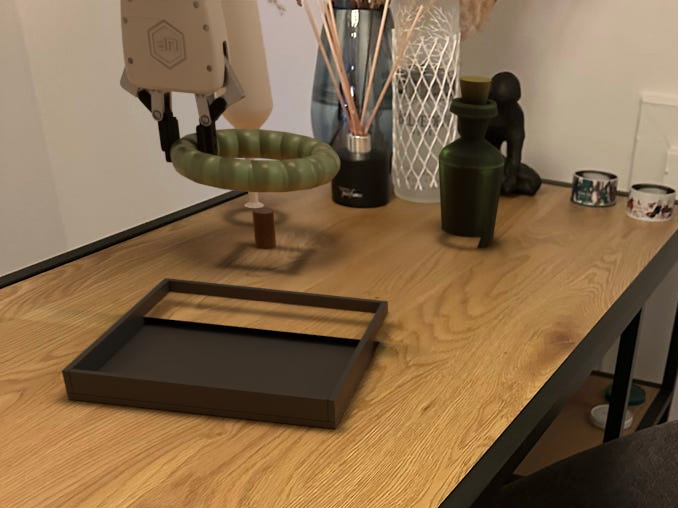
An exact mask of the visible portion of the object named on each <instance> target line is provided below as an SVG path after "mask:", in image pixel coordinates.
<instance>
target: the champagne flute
mask: <svg viewBox="0 0 678 508" xmlns="http://www.w3.org/2000/svg"><path fill="white" fill-rule="evenodd" d="M220 1H221V5H222V10H223V14H224V20H225V25H226V31H227V37H228V43H229V51H230V59H231V67H232V69H233V71H234V72H235V74H236V76H237V78H238V80H239V82H240V84H241V86H242V88H243V89H244V91H245V97H244V98H243V99H241V100H239V101H238V102H236V103H234V104H232V105H231V106H229V107H228V108H227V109H226V110H225V111H224V112H223V113H222V115H221V116H223V118H224V120H226V121H227V122H228V123H229V124H230V125H231V127H233V129H261V128H262V126H264V125H265V123H266V122H267V121H268V119H269V117H270V115H271V114H272V112H273V108H274V101H273V94H272V88H271V83H270V75H269V68H268V63H267V56H266V55H267V54H266V48H265V43H264V36H263V29H262V23H261V15H260V10H259V4H258V0H220ZM225 92H226V87H224V88H220V89H219V90H218V91H217V92H215V97H216V98H218V97H219V96H221V95H223V94H224V93H225ZM244 159H245V160H256V158H244ZM258 193H259V192H247V194H248V201H247V202H246V203H244V207H246V208H249V209H255V208H264V206H265V205H264V204H263V203H262V202H260V201H259V194H258Z"/></svg>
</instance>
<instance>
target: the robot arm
mask: <svg viewBox="0 0 678 508" xmlns="http://www.w3.org/2000/svg"><path fill="white" fill-rule="evenodd" d="M119 1H120V2H119V3H120V4H119V5H120V6H119V7H120V28H121V41H122V42H121V43H122V53H123V54H122V55H123V61H124V67H123V71H122V74H121V77H120V80H119V85H120V87H121V88H122V89H123V90H125V92H127V93H128V94H130V95H132V96H133V97H134V98H137V99H138V100H139V101H140V102H141V104H142V105H143V106H144V107H145V108H146V109H147V111H148V112H150V113H151V116H152V118H153V120H154V121H156V122H157V129H158V135H159V143H160V144H159V145H160V149H161V151H162V152H164V157H165V158H164V159H165V162H166V163H170V164H171V163H172V160H171V157H170V149H171V146H172V145H173V143H174V142H175V141H177V140H179V139H180V138H181V134H180V126H179V124H180V123H179V119H178V118H177V116H174V112H173V92H175V93H182V94H191V95H192V94H193V95H194V98H195V103H196V108H197V114H198V124H197V125H196V127H195V133H196V135H197V144H198V151H200V152H203V153H207V154H211V155H216V156H217V155H218V145H217V135H216V130H217V126H216V122H217V121H218V120H220V119H219V118H220V117H221V116H223V115H222V113H223V112H224V111H225V110H226V109H227V108H228V107H229V106H231V105H232V104H234V103H236V102H238V101H239V100H241V99H243V98H244V97H245V91H244V89H243V88H242V86H241V84H240V82H239V80H238V78H237V76H236V74H235V72H234V71H233V69H232V67H231V59H230V51H229V43H228V37H227V31H226V25H225V20H224V14H223V10H222V5H221V1H220V0H119ZM224 87H226V92H225V93H224V94H223V95H221V96H219V97H218V98H216V92H217V91H218V90H219V89H220V88H224Z"/></svg>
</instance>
